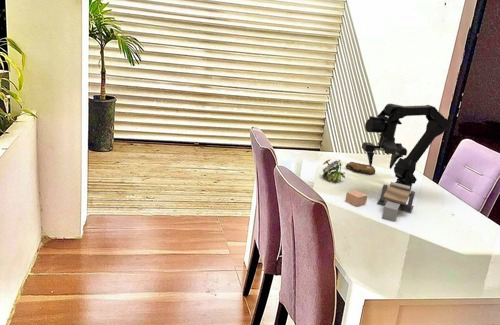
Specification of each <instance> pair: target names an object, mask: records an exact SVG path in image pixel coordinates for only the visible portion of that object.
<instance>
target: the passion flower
mask: <svg viewBox="0 0 500 325" xmlns="http://www.w3.org/2000/svg"><path fill="white" fill-rule="evenodd" d="M330 161H331V158H330V159H328V160H326V161H324V162H323V163H322V164H323V165H326V164H327V166H325V167H324V168H322V174H321V175H322V176H323V177H324V178H325V177H326V176H327V175H328V177H327V178H328V179H327V180H328V182H329V183H331V180H332V182H335V181H340V182H341V179H342V178H344V179H346V177H345V174H346V172H345V171H343V172H341V169H342V162H341V159H338V160H335V161H331V163H329V162H330Z"/></svg>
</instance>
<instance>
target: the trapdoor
mask: <svg viewBox="0 0 500 325" xmlns="http://www.w3.org/2000/svg"><path fill="white" fill-rule="evenodd" d="M409 191H410V186H406V185H402V184H398V183H395V182H394V181H390V183H389V185H388V187H387V189H386V192H385V194H384V196H383V199H386V200H390V201H393V202H397V203H401V204H405V205H406V204H407V203H408V201H409V197H410V196H409V194H410V193H411V191H410V192H409Z"/></svg>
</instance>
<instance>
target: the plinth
mask: <svg viewBox="0 0 500 325" xmlns="http://www.w3.org/2000/svg"><path fill="white" fill-rule="evenodd" d="M367 198H368V194H365V193H362V192H361V191H358V190H350V191H347V192H346V195H345V198H344V199H345V200H344V201H345V202H346V203H348V204H350V205H353V206H354V207H360V206H364V205H367V204H366V203H367Z"/></svg>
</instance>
